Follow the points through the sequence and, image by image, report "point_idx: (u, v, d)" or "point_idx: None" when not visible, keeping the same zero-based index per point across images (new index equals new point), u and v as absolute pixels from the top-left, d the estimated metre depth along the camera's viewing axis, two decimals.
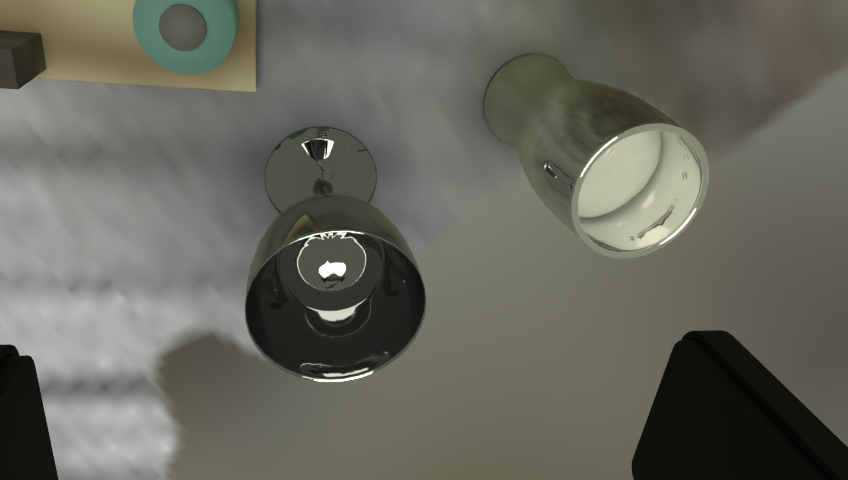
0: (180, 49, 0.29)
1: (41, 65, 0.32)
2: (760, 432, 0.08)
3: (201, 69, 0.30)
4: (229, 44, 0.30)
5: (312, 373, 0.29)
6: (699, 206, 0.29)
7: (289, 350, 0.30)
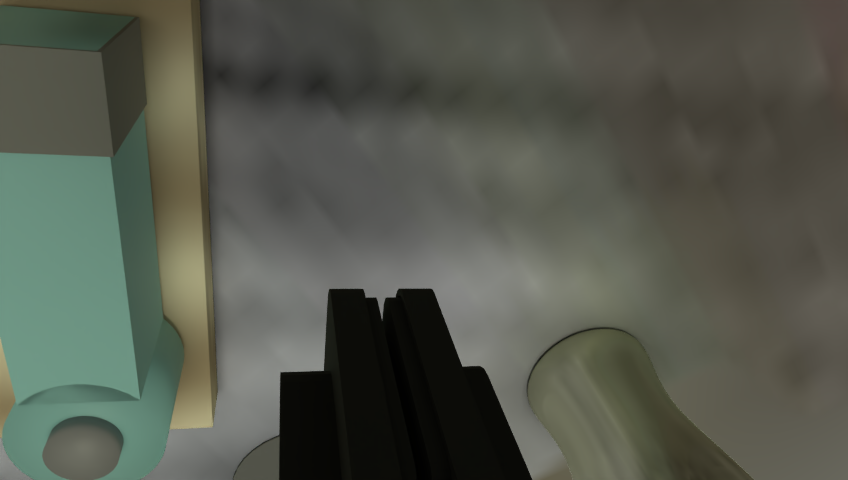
0: (80, 479, 0.18)
1: None
2: (405, 380, 0.08)
3: None
4: (161, 452, 0.19)
5: None
6: None
7: None
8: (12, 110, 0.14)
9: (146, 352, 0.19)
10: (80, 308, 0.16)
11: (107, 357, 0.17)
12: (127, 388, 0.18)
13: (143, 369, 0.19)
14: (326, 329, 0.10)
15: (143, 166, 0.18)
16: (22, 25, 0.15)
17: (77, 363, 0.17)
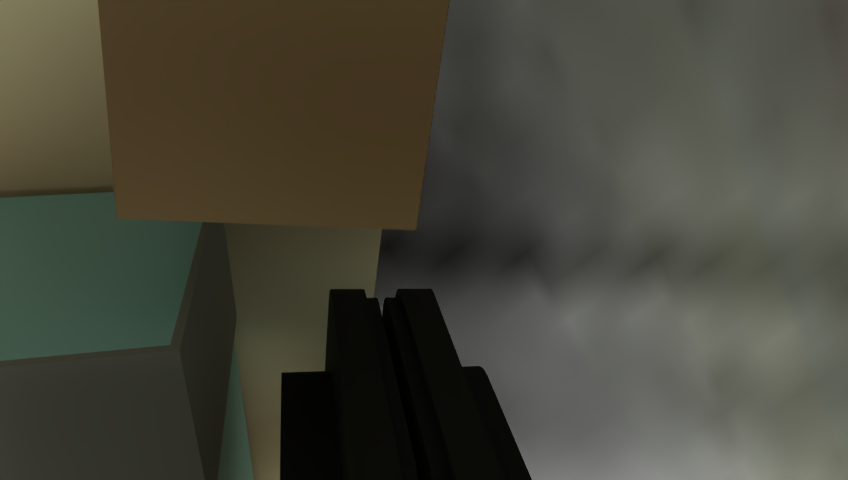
0: None
1: None
2: (405, 380, 0.08)
3: None
4: None
5: None
6: None
7: None
8: None
9: None
10: None
11: None
12: None
13: None
14: (327, 329, 0.10)
15: (238, 421, 0.11)
16: (11, 266, 0.07)
17: None
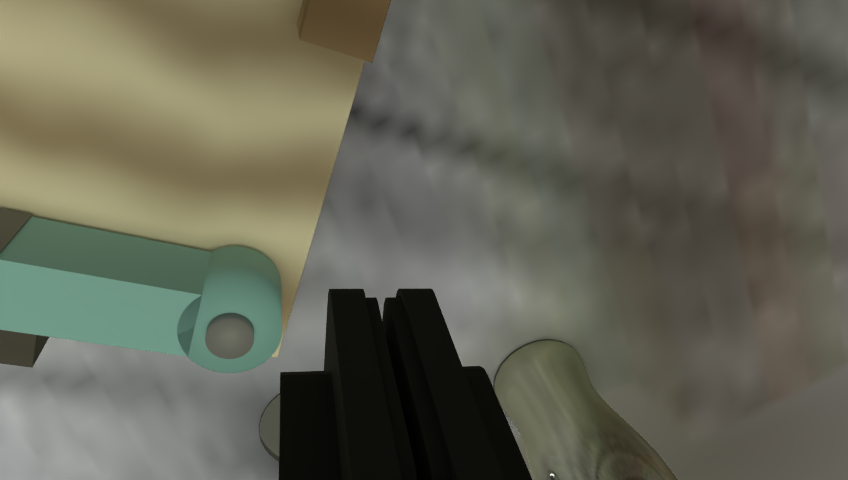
0: (250, 345, 0.27)
1: None
2: (405, 380, 0.08)
3: (278, 326, 0.28)
4: (256, 296, 0.27)
5: None
6: None
7: None
8: None
9: (188, 276, 0.27)
10: (113, 305, 0.26)
11: (158, 302, 0.26)
12: (188, 299, 0.26)
13: (190, 284, 0.27)
14: (326, 329, 0.10)
15: (67, 231, 0.27)
16: None
17: (160, 318, 0.26)
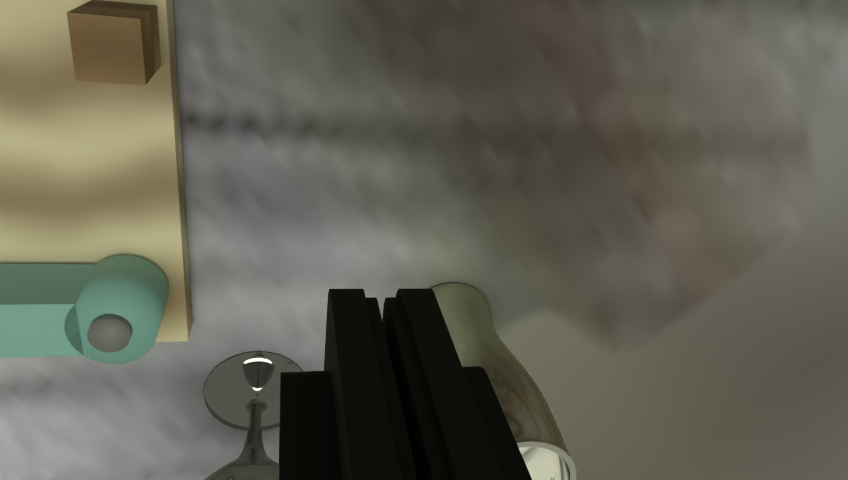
0: (128, 338, 0.32)
1: None
2: (405, 380, 0.08)
3: (150, 318, 0.33)
4: (121, 296, 0.32)
5: None
6: None
7: None
8: None
9: (67, 290, 0.32)
10: (6, 324, 0.31)
11: (41, 316, 0.31)
12: (65, 309, 0.31)
13: (67, 296, 0.32)
14: (326, 329, 0.10)
15: None
16: None
17: (48, 328, 0.32)
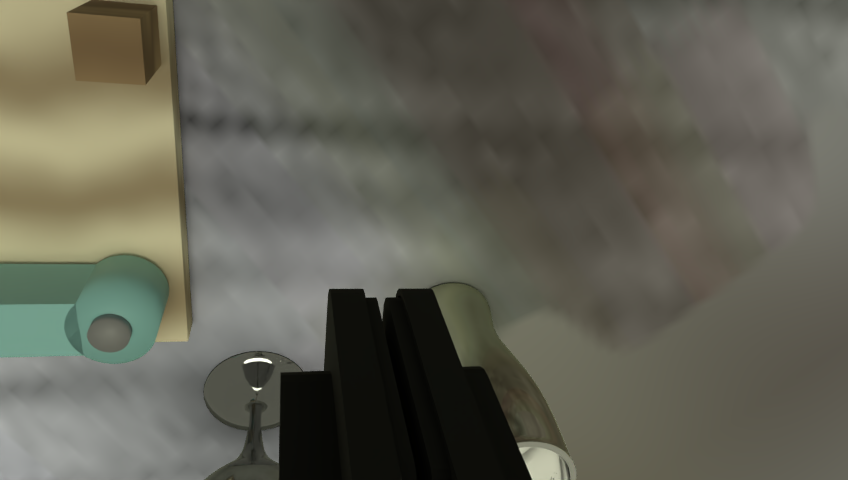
0: (128, 338, 0.32)
1: None
2: (405, 380, 0.08)
3: (149, 318, 0.33)
4: (121, 296, 0.32)
5: None
6: None
7: None
8: None
9: (67, 290, 0.32)
10: (6, 324, 0.31)
11: (41, 316, 0.31)
12: (65, 309, 0.31)
13: (67, 296, 0.32)
14: (326, 329, 0.10)
15: None
16: None
17: (48, 328, 0.32)
